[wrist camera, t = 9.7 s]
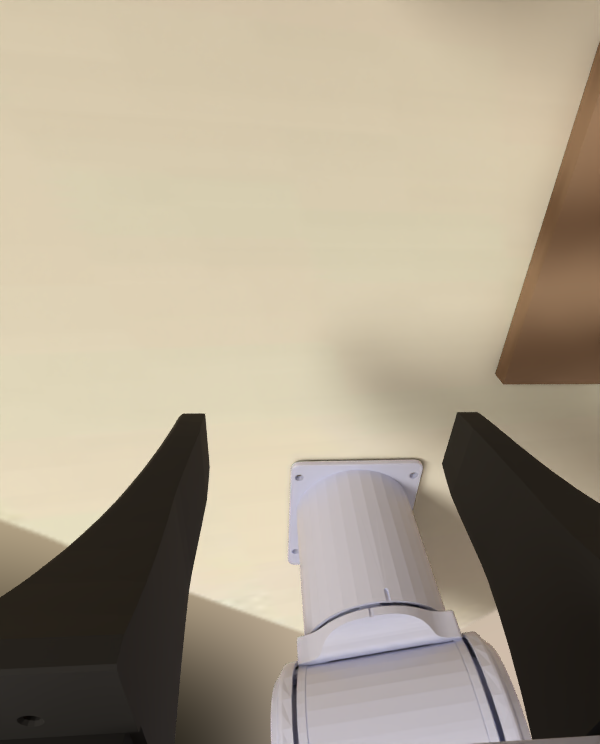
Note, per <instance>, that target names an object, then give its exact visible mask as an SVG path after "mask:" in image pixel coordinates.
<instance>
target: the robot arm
mask: <svg viewBox="0 0 600 744" xmlns="http://www.w3.org/2000/svg"><path fill="white" fill-rule="evenodd" d="M442 465H443V469H444V473H445V477H446V480H447V484H448V487H449V490H450V493H451V496H452V499H453V501H454V503H455V506H456V508H457V510H458V513H459V515H460V517H461V519H462V522H463V524H464V526H465V528H466V531H467V533H468V535H469V537H470V540H471V542H472V544H473V546H474V549H475V551H476V553H477V555H478V557H479V560H480V562H481V564H482V567H483V569H484V572H485V574H486V577H487V579H488V582H489V585H490V588H491V591H492V594H493V597H494V600H495V603H496V606H497V609H498V612H499V616H500V619H501V622H502V625H503V629H504V632H505V635H506V639H507V642H508V645H509V649H510V652H511V656H512V660H513V664H514V667H515V671H516V675H517V678H518V682H519V686H520V690H521V694H522V697H523V702H524V706H525V710H526V715H527V719H528V723H529V727H530V731H531V735H532V739H531V736H530V733H529V729H528V726H527V723H526V720H525V717H524V714H523V711H522V708H521V705H520V703H519V700H518V698H517V695H516V692H515V690H514V687H513V685H512V682H511V680H510V678H509V675H508V673H507V671H506V669H505V667H504V665H503V663H502V661H501V659H500V657H499V655H498V653H497V652H496V650H495V649H494V648H493V647H492V646H491V645H490V644H489V643H487V642H486V641H485V640H483V639H482V638H481V637H480V635H478V634H477V633H476V632H465V633H462V634H461V632H460V629H459V626H458V623H457V621H456V618H455V615H454V612H453V611H452V610H449V611H445V608H444V605H443V602H442V599H441V596H440V593H439V590H438V587H437V584H436V581H435V578H434V575H433V572H432V569H431V566H430V563H429V560H428V557H427V554H426V551H425V548H424V545H423V542H422V539H421V536H420V533H419V530H418V527H417V524H416V521H415V518H414V515H413V512H412V511H413V507H414V503H415V499H416V495H417V491H418V487H419V483H420V478H421V474H422V470H423V466H422V463H421V462H420V461H419V460H415V459H413V460H357V461H300V462H295V463H293V464H292V466H291V479H290V508H289V537H288V562H289V563H290V564H294V565H297V564H300V575H301V589H302V604H303V618H304V632H305V635H304V636H300V637H298V638H297V651H298V661H297V662H291V663H287V664H285V666H284V667H283V669H282V672H281V674H280V676H279V677H278V679H277V681H276V682H275V685H274V689H273V694H272V704H271V744H600V503H598V502H596V501H595V500H593V499H592V498H590V497H588V496H587V495H585V494H584V493H582V492H581V491H579V490H578V489H576V488H575V487H573V486H572V485H571V484H569V483H568V482H566V481H565V480H564V479H562V478H561V477H559V476H558V475H557V474H555V473H554V472H552V471H551V470H550V469H549V468H547V467H546V466H545V465H543V464H542V463H541V462H539V461H538V460H537V459H535V458H534V457H533V456H532V455H530V454H529V453H528V452H527V451H525V450H524V449H523V448H522V447H520V446H519V445H518V444H517V443H516V442H514V441H513V440H512V439H511V438H509V437H508V436H507V435H506V434H505V433H503V432H502V431H501V430H500V429H499V428H497V427H496V426H495V425H494V424H492V423H491V422H490V421H489V420H487V419H486V418H485V417H484V416H482V415H481V414H480V413H478V412H457V415H456V419H455V422H454V425H453V429H452V432H451V436H450V439H449V442H448V446H447V449H446V452H445V456H444V459H443V462H442ZM209 469H210V466H209V454H208V442H207V431H206V419H205V414H182V415H181V416H180V417H179V418H178V420H177V421H176V423H175V425H174V426H173V428H172V429H171V431H170V433H169V434H168V436H167V437H166V439H165V440H164V442H163V443H162V445H161V446H160V447H159V449H158V450H157V452H156V453H155V454H154V456H153V457H152V458H151V460H150V461H149V462H148V464H147V465H146V466H145V468H144V469H143V470H142V472H141V473H140V474H139V475H138V476H137V478H136V479H135V480H134V481H133V482H132V484H131V485H130V486H129V487H128V488H127V490H126V491H125V492H124V493H123V494H122V495H121V496H120V497H119V498H118V500H117V501H116V502H115V503H114V504H113V505H112V506H111V507H110V508H109V509H108V510H107V511H106V512H105V513H104V514H103V515H102V516H101V517H100V518H99V519H98V520H97V521H96V522H95V523H94V524H93V525H92V526H91V527H90V528H88V529H87V530H86V531H85V532H84V533H83V534H82V535H81V536H80V537H79V538H78V539H76V540H75V541H74V542H73V543H72V544H71V545H70V546H68V547H67V548H66V549H65V550H64V551H63V552H61V553H60V554H59V555H57V556H56V557H55V558H54V559H52V560H51V561H50V562H48V563H47V564H46V565H45V566H43V567H42V568H41V569H40V570H39V571H37V572H36V573H35V574H33V575H32V576H31V577H30V578H28V579H27V580H25V581H24V582H22V583H21V584H20V585H18V586H17V587H15V588H14V589H12V590H11V591H9V592H8V593H6V594H5V595H3V596H2V597H0V744H174V743H175V730H176V717H177V705H178V695H179V683H180V672H181V662H182V651H183V642H184V631H185V622H186V613H187V603H188V594H189V587H190V581H191V575H192V570H193V565H194V560H195V555H196V550H197V546H198V541H199V536H200V531H201V526H202V521H203V516H204V512H205V507H206V501H207V492H208V481H209ZM414 472H415V473H414ZM411 473H413V474H411ZM297 475H301V476H297Z"/></svg>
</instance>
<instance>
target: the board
mask: <svg viewBox="0 0 600 744" xmlns="http://www.w3.org/2000/svg"><path fill="white" fill-rule="evenodd" d="M495 374H496V376H497V377H498V378H499V380H500V381H501V382H502V383H503V384H600V43H599V46H598V49H597V52H596V56H595V59H594V62H593V65H592V68H591V71H590V75H589V78H588V81H587V84H586V87H585V90H584V94H583V97H582V100H581V103H580V106H579V110H578V113H577V116H576V119H575V122H574V125H573V129H572V132H571V135H570V138H569V141H568V144H567V148H566V151H565V154H564V157H563V160H562V163H561V167H560V170H559V173H558V176H557V179H556V183H555V186H554V189H553V192H552V195H551V198H550V202H549V205H548V208H547V211H546V214H545V217H544V221H543V224H542V227H541V230H540V233H539V237H538V240H537V243H536V246H535V249H534V252H533V256H532V259H531V262H530V265H529V268H528V271H527V275H526V278H525V281H524V284H523V287H522V290H521V294H520V297H519V300H518V303H517V306H516V310H515V313H514V316H513V319H512V322H511V325H510V329H509V332H508V335H507V338H506V341H505V344H504V348H503V351H502V354H501V357H500V360H499V364H498V367H497V370H496V373H495Z"/></svg>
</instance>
